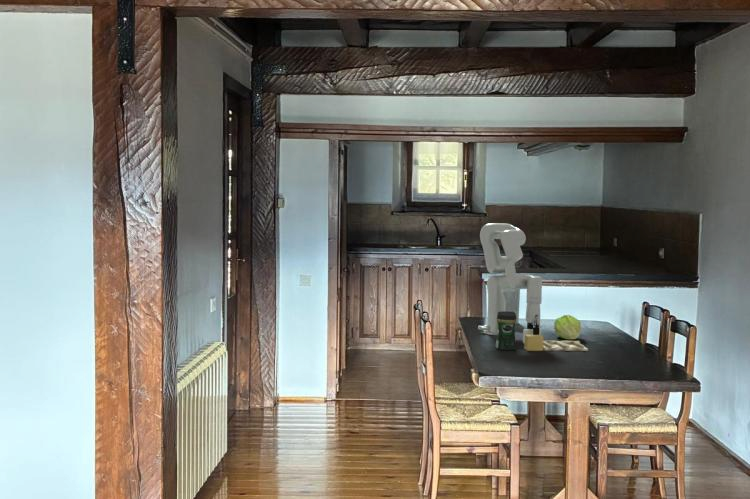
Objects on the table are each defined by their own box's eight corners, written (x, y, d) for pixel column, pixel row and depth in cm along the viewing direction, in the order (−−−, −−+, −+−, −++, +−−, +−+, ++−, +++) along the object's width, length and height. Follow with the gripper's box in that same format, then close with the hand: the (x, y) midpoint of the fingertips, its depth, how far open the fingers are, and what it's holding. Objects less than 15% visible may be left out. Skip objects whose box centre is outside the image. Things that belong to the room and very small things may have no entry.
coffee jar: (513, 347, 378) (515, 310, 377) (516, 350, 371) (518, 313, 369) (494, 346, 379) (495, 309, 377) (496, 350, 371) (498, 312, 369)
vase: (519, 324, 446) (521, 278, 443) (502, 324, 446) (504, 278, 444) (516, 321, 456) (518, 276, 453) (500, 321, 456) (502, 276, 454)
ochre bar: (527, 350, 372) (527, 336, 372) (524, 348, 377) (524, 334, 376) (542, 350, 373) (543, 336, 373) (539, 348, 378) (540, 334, 377)
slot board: (544, 350, 374) (545, 345, 374) (536, 345, 386) (537, 340, 385) (587, 350, 376) (588, 345, 376) (578, 345, 388) (579, 340, 388)
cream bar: (525, 344, 388) (526, 330, 388) (522, 342, 393) (523, 329, 392) (540, 344, 389) (541, 330, 389) (537, 342, 394) (538, 329, 393)
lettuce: (557, 332, 393) (580, 318, 392) (547, 319, 415) (570, 307, 414) (568, 352, 396) (592, 339, 394) (559, 339, 417) (581, 327, 416)
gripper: (521, 298, 397) (520, 331, 398) (532, 302, 380) (531, 336, 381) (535, 298, 398) (534, 331, 399) (546, 302, 381) (545, 336, 382)
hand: (533, 333), depth 390 cm, fingers open, 9 cm apart
